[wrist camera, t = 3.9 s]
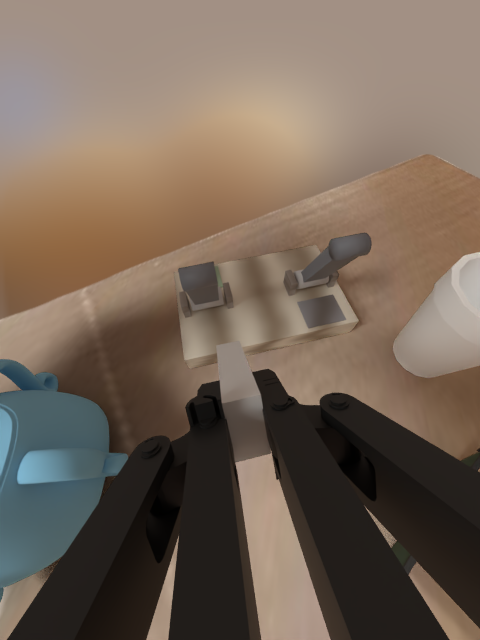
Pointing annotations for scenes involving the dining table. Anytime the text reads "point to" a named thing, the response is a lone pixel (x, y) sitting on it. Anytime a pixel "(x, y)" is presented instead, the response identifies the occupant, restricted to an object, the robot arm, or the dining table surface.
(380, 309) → the dining table surface
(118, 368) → the dining table surface
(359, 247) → the lever
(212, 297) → the lever
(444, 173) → the dining table surface
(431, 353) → the foam cup
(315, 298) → the switch base
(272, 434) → the robot arm
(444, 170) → the dining table surface
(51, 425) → the decorative pot
